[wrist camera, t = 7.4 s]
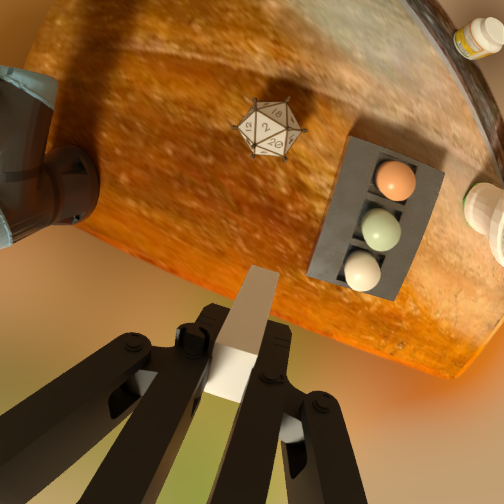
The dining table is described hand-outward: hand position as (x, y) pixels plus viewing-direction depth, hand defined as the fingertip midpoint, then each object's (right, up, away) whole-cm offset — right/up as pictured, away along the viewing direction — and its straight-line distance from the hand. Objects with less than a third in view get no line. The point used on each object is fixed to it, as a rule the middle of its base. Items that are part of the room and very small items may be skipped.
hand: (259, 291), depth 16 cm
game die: (+3, +19, +24) cm, 31 cm away
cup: (+35, +9, +21) cm, 42 cm away
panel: (+17, +7, +26) cm, 32 cm away
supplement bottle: (+32, +33, +13) cm, 48 cm away
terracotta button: (+18, +12, +20) cm, 29 cm away
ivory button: (+15, 0, +25) cm, 29 cm away
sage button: (+16, +6, +22) cm, 28 cm away
